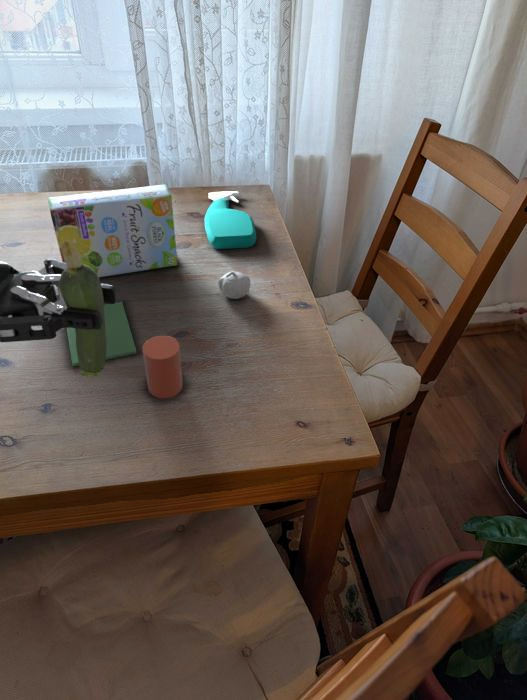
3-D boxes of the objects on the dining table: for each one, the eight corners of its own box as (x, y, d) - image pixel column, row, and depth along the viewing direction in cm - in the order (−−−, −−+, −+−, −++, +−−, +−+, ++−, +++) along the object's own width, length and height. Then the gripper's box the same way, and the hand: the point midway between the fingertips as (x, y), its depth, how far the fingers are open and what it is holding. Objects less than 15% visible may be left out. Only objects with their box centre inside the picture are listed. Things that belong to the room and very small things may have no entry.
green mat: (136, 353, 85) (136, 350, 84) (72, 366, 82) (72, 364, 81) (122, 304, 94) (122, 301, 94) (64, 314, 91) (64, 311, 91)
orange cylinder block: (173, 402, 77) (169, 363, 72) (141, 393, 78) (135, 353, 73) (188, 379, 81) (185, 340, 76) (158, 370, 82) (153, 331, 77)
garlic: (220, 305, 95) (220, 281, 92) (216, 288, 99) (216, 264, 96) (253, 302, 96) (253, 278, 93) (247, 285, 100) (248, 262, 97)
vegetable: (94, 358, 69) (65, 221, 56) (123, 367, 68) (100, 229, 55) (74, 380, 66) (38, 240, 53) (104, 389, 65) (75, 249, 52)
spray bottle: (208, 250, 109) (199, 199, 127) (259, 248, 111) (243, 198, 129) (207, 238, 107) (199, 187, 125) (260, 235, 109) (244, 186, 127)
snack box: (171, 252, 108) (165, 182, 98) (177, 266, 104) (172, 195, 94) (64, 268, 102) (46, 195, 92) (67, 283, 98) (48, 210, 88)
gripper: (-85, 299, 53) (78, 319, 52) (-12, 231, 64) (125, 247, 63) (-59, 354, 58) (90, 373, 57) (5, 283, 69) (132, 298, 68)
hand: (107, 307), depth 60 cm, fingers closed on vegetable, 4 cm apart
